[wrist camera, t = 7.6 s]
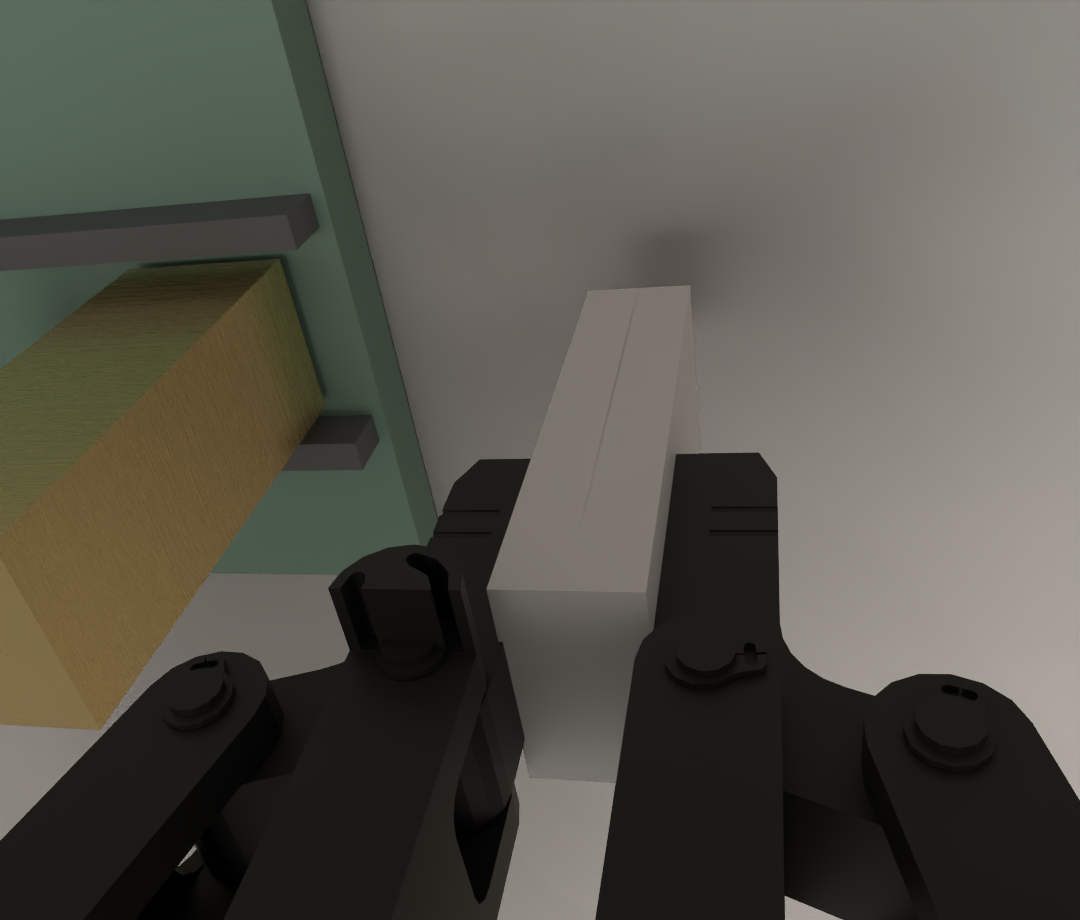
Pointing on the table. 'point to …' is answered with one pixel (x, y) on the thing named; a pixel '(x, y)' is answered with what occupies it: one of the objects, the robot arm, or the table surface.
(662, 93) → the table surface
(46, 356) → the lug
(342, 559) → the board
